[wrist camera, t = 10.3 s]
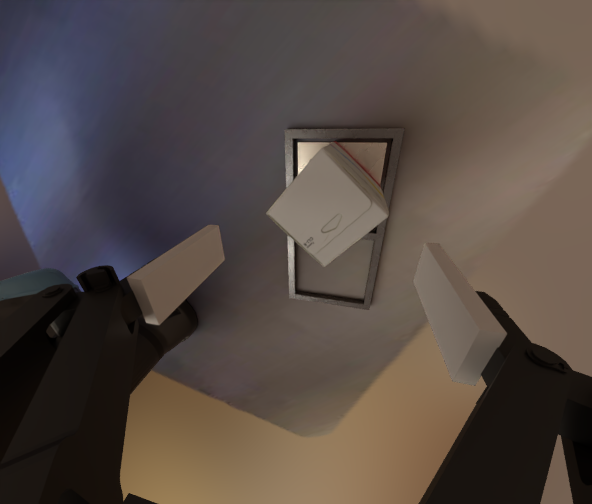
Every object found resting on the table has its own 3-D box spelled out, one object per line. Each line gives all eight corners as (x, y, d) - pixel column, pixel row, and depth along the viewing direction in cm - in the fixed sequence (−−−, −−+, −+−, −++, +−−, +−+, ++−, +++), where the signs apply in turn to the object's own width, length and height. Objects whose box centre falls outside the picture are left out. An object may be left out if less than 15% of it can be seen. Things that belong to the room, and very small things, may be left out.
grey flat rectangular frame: (290, 294, 42) (289, 297, 41) (286, 129, 29) (284, 129, 28) (368, 305, 39) (369, 309, 38) (403, 128, 26) (404, 128, 25)
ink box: (335, 137, 28) (322, 142, 18) (381, 186, 29) (394, 216, 19) (292, 188, 32) (262, 215, 22) (334, 228, 34) (324, 271, 23)
